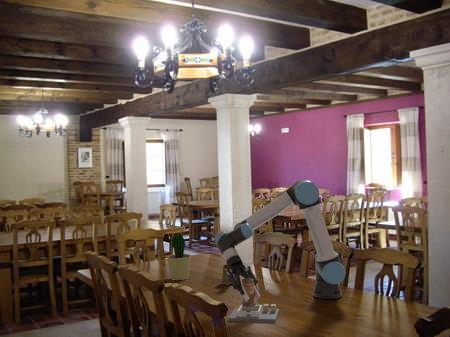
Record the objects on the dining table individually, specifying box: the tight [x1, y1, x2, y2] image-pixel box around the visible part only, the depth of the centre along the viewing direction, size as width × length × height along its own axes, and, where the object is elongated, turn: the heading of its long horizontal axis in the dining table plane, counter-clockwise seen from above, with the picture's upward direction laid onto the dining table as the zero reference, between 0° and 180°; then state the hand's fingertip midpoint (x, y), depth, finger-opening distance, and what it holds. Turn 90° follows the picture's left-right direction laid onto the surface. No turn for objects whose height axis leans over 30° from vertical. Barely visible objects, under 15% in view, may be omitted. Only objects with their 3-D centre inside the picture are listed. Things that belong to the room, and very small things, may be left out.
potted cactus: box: [166, 232, 192, 281], centre depth 315 cm, size 15×15×30 cm
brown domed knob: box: [241, 278, 257, 307], centre depth 231 cm, size 7×7×12 cm
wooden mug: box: [220, 264, 235, 286], centre depth 294 cm, size 9×14×18 cm, turn 26°
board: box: [227, 303, 280, 324], centre depth 231 cm, size 22×16×4 cm
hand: (253, 298), depth 228 cm, fingers closed on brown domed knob, 6 cm apart
